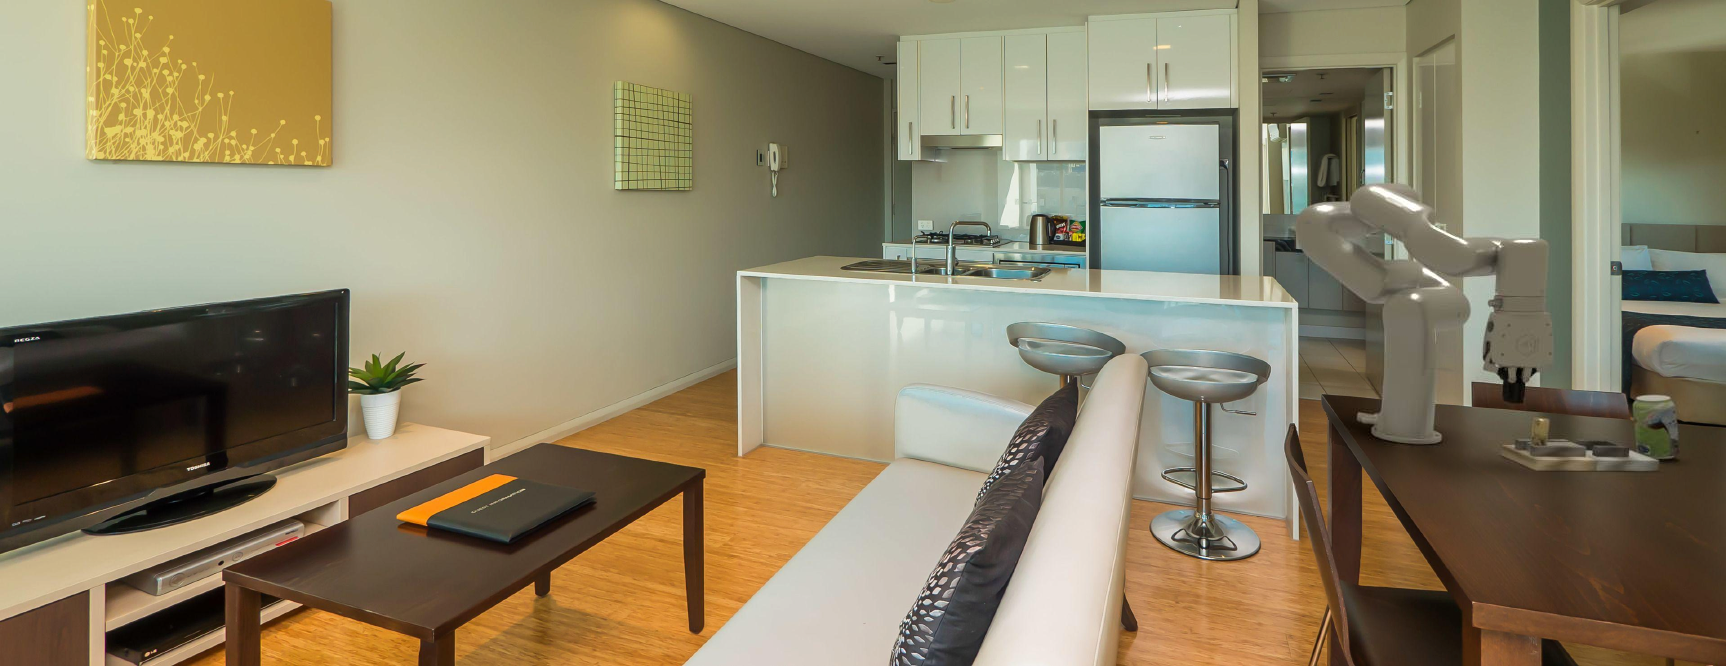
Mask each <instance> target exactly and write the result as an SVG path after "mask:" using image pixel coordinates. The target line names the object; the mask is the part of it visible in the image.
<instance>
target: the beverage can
mask: <svg viewBox="0 0 1726 666" xmlns="http://www.w3.org/2000/svg"><path fill="white" fill-rule="evenodd" d="M1632 414H1633V423H1634V425H1633V426H1634V436H1635V437H1634V438H1635V446H1636V447H1635V448H1636V449H1635V450H1636V453H1639V454H1642V455H1645V456H1648V457H1650V458H1653V459H1656V460H1666V459H1668V460H1669V459H1673V458H1674V457H1675V456H1677V455H1679V454H1680V442H1679V431H1678V430H1679V429H1678V419H1677V406H1676V403H1675V402H1674V401H1673V400H1672V397H1670V396H1669V395H1663V394H1644V395H1639V396H1637V397H1636V398H1635V400H1634V401H1633V403H1632Z"/></svg>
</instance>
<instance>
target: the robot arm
mask: <svg viewBox="0 0 1726 666" xmlns="http://www.w3.org/2000/svg"><path fill="white" fill-rule="evenodd" d="M1436 213H1437V212H1436V211H1435V210H1434V208H1433V207H1431V206H1430V205H1427V204H1425V203H1422V202H1420V197H1419V194H1418V193H1417V191H1416V190H1415V189H1414V187H1412V186H1410V185H1408V184H1405V183H1399V182H1398V183H1397V182H1396V183H1395V182H1394V183H1393V182H1389V183H1384V182H1383V183H1381V182H1378V183H1369V184H1365V185H1363V186H1361V187H1359V188H1358V189H1356V190H1355V191H1354V192H1353V193H1352V194H1351V196H1350V199H1349V201H1325V202H1317V203H1314V204H1310V205H1309V206H1307V207H1305V208H1304V209H1302V210H1301V211H1300V213H1298V215H1297V217H1296V219H1295V220H1296V221H1295V227H1294V228H1295V236H1296V241H1297V243H1298V245H1299V247H1300V249H1301V250H1302V253H1304V254H1305V256H1306V257H1308V258H1309V259H1310V261H1312V262H1313V263H1314V264H1315V265H1317V266H1318V267H1320V269H1323V270H1324V271H1326V272H1327V273H1328V274H1330V275H1331V276H1332V277H1334V279H1336V280H1337V281H1338V282H1340V283H1341V284H1342V285H1343V286H1345V287H1346V288H1347V289H1349V290H1350V291H1351V292H1352V293H1354V294H1355V295H1356V296H1357V297H1358V298H1360V299H1362V300H1363V301H1364V302H1366V303H1369V304H1373V305H1374V304H1375V305H1381V304H1383V308H1382V323H1383V324H1382V325H1383V329H1384V339H1385V340H1384V342H1385V343H1384V347H1385V348H1384V350H1385V351H1384V362H1383V363H1384V367H1383V368H1384V369H1383V383H1382V398H1381V409H1380V411H1379V413H1377V412H1375V413H1374V414H1371V413H1365V412H1357V415H1356V420H1357V422H1361V424H1366V425H1368V424H1371V425H1373V426H1372V427H1371V434H1372V435H1373V436H1374V437H1376V438H1379V439H1382V440H1386V441H1389V442H1394V443H1395V442H1396V443H1401V444H1411V445H1433V444H1437V443H1439V442H1441V441H1442V437H1443V435H1442V434H1441V433H1440V432H1438V431H1436V430H1434V426H1435V424H1434V423H1435V411H1436V398H1437V388H1438V377H1439V376H1438V373H1439V359H1440V358H1439V356H1440V355H1439V348H1438V345H1437V342H1436V338H1435V336H1434V334H1435V333H1443V332H1450V331H1454V330H1457V329H1459V328H1461V327H1463V326H1464V325H1465V324H1466V323H1467V322H1468V320H1469V318H1470V317H1471V313H1472V311H1471V309H1472V308H1471V304H1470V301H1469V299H1468V298H1467V296H1466V295H1465V294H1464V293H1463V292H1462V290H1460V289H1459V288H1458V287H1457V286H1455V285H1454V284H1452V282H1449V281H1447V279H1444V277H1442V276H1440V275H1439V274H1441V275H1445V276H1447V277H1452V278H1471V277H1489V276H1495V286H1494V295H1493V298H1492V299H1488V301H1487V306H1488V307H1491V308H1492V307H1493V309H1492V310H1493V311H1490V314H1489V316H1488V319H1487V322H1486V326H1485V330H1484V337H1483V343H1482V361H1483V362H1484V364H1483V367H1482V370H1483V371H1486V372H1489V373H1495V374H1496V375H1497V376H1498V377H1499V380H1501V381H1502V392H1501V394H1502V399H1503V402H1507V403H1510V404H1513V405H1514V404H1518V405H1522V404H1524V398H1525V396H1526V383H1528V382H1530V379H1531V378H1532V377H1533V376H1534V375H1535V374H1537V373H1538V374H1539V373H1542V372H1546V371H1548V369H1549V368H1548V367H1549V366H1551V365H1552V364H1553V362H1554V350H1555V349H1554V343H1555V341H1554V330H1553V329H1554V328H1553V324H1552V323H1553V322H1552V317H1551V313H1550V312H1546V300H1547V297H1546V296H1547V284H1548V283H1547V282H1548V272H1549V271H1548V270H1549V254H1550V246H1549V242H1548V241H1547V240H1545V239H1543V238H1534V237H1533V238H1529V237H1527V238H1524V237H1521V238H1520V237H1518V238H1503V237H1498V236H1484V237H1483V236H1482V237H1480V236H1478V237H1477V236H1476V237H1474V236H1473V237H1457V236H1455V235H1453V234H1451V233H1448V231H1445V230H1442V229H1441V228H1439V227H1437V226H1435V225H1436V223H1437V222H1436V221H1437V214H1436ZM1377 232H1382V233H1384V234H1386V235H1387V236H1390V237H1391V238H1393V239H1395V240H1396V241H1399V242H1400V243H1402V244H1403V247H1404V248H1405V250H1406V251H1407V253H1408V254H1409V255H1410V256H1411V257H1412V258H1413V259H1414V260H1412V259H1405V258H1404V259H1402V258H1401V259H1400V258H1399V259H1385V258H1384V259H1383V258H1379V257H1378V256H1376V255H1374V254H1373V253H1371V252H1369V251H1368V250H1366V249H1365V248H1364V247H1363V246H1361V245H1360V244H1358V243H1356V242H1353V241H1351V240H1349V239H1356V238H1362V237H1365V236H1368V235H1371V234H1374V233H1377ZM1415 260H1416V261H1415ZM1431 269H1432V270H1431ZM1433 270H1434V271H1433ZM1436 272H1437V273H1439V274H1437V273H1436Z"/></svg>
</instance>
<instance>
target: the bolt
mask: <svg viewBox="0 0 1726 666" xmlns="http://www.w3.org/2000/svg"><path fill="white" fill-rule="evenodd" d="M1531 428H1532V429H1531V438H1530V439H1531V442H1526V451H1529V452H1530V447H1531V445H1542V446H1580V445H1577V444H1576V442H1575V443H1574V442H1572V441H1570V442H1547V440H1548V439H1549V429H1550V419H1549V418H1546V417H1545V418H1544V417H1533V419H1532V427H1531Z"/></svg>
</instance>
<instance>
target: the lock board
mask: <svg viewBox="0 0 1726 666" xmlns="http://www.w3.org/2000/svg"><path fill="white" fill-rule="evenodd" d="M1526 442H1531V438H1530V439H1527V438H1525V439H1524V438H1523V439H1522V438H1517V439H1515V440H1514V444H1511V445H1510V444H1501V447H1500V456H1501V457H1505V459H1508V460H1511V461H1513V462H1516V463H1518V464H1520V465H1522V466H1525V467H1526V468H1529V469H1531V470H1533V471H1537V472H1539V471H1544V472H1545V471H1550V472H1551V471H1553V472H1554V471H1555V472H1556V471H1558V472H1561V471H1569V472H1571V471H1573V472H1581V471H1583V472H1658V471H1659V468H1660V467H1659V466H1660V459H1653V458H1650V457H1648V456H1645V455H1642V454H1639V453H1637V451H1633V450H1631V449H1630V448H1631V447H1629V446H1627V445H1624V444H1622V443H1618V442H1616V441H1615V442H1614V441H1613V440H1609V439H1597V438H1596V439H1589V438H1588V439H1575V444H1577V445H1580V446H1542V445H1531V447H1530V452H1529V451H1526ZM1547 442H1571V441H1570V440H1567V439H1566V438H1564V439H1563V438H1562V439H1556V438H1555V439H1554V438H1553V439H1552V438H1551V439H1549V438H1548V440H1547Z"/></svg>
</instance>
